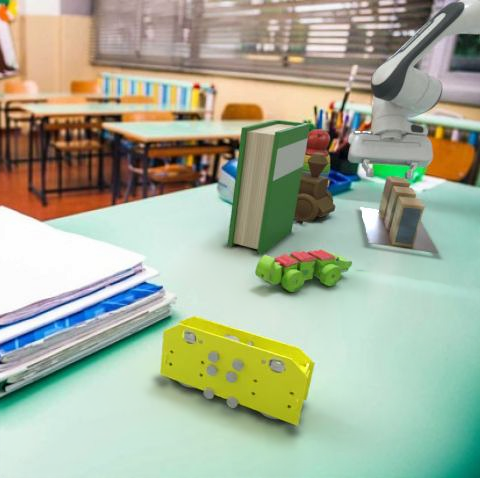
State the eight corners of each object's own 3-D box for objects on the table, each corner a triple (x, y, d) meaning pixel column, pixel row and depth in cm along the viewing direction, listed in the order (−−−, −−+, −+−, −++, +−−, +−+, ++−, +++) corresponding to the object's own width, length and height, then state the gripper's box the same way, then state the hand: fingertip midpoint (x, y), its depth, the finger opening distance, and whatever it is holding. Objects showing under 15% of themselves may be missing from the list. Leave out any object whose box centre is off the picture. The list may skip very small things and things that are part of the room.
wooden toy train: (240, 208, 126) (248, 143, 120) (261, 200, 134) (270, 138, 128) (316, 228, 114) (330, 156, 108) (335, 217, 121) (349, 150, 115)
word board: (415, 217, 124) (416, 214, 124) (438, 256, 100) (439, 252, 100) (359, 210, 129) (360, 206, 128) (367, 246, 104) (368, 242, 104)
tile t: (409, 238, 107) (419, 198, 104) (413, 248, 102) (424, 206, 98) (388, 235, 108) (398, 196, 105) (391, 244, 103) (402, 203, 100)
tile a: (402, 224, 116) (412, 187, 113) (406, 233, 110) (416, 194, 107) (384, 222, 117) (392, 185, 114) (386, 230, 112) (396, 192, 108)
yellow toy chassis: (158, 382, 59) (162, 321, 56) (177, 358, 63) (182, 301, 60) (295, 434, 51) (309, 368, 48) (305, 403, 56) (319, 341, 53)
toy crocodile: (330, 267, 93) (337, 237, 90) (358, 282, 87) (365, 250, 85) (242, 280, 86) (247, 248, 84) (265, 298, 80) (271, 264, 78)
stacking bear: (294, 183, 153) (304, 125, 146) (328, 188, 148) (340, 129, 142) (285, 190, 144) (295, 129, 138) (321, 196, 139) (334, 133, 133)
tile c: (395, 212, 125) (404, 177, 122) (401, 219, 119) (410, 183, 116) (378, 210, 126) (386, 176, 123) (383, 217, 120) (392, 181, 117)
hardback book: (261, 254, 97) (280, 132, 89) (227, 245, 101) (241, 127, 93) (291, 232, 111) (310, 123, 102) (260, 224, 115) (275, 119, 106)
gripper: (351, 124, 135) (349, 168, 130) (434, 128, 130) (436, 174, 125) (345, 137, 141) (344, 180, 136) (425, 141, 136) (427, 186, 131)
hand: (389, 177), depth 130 cm, fingers open, 8 cm apart
